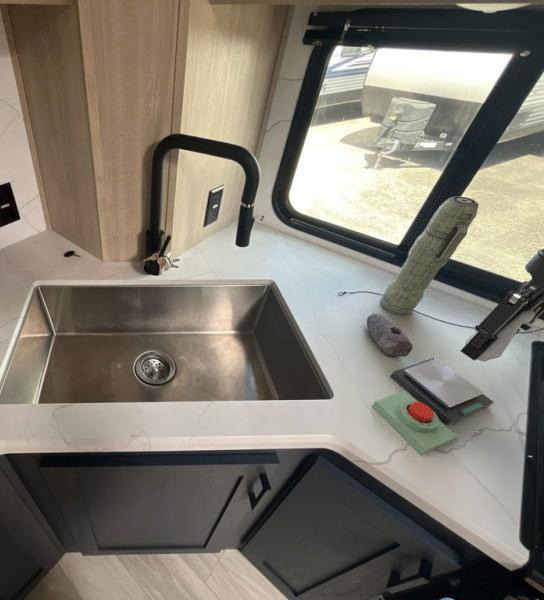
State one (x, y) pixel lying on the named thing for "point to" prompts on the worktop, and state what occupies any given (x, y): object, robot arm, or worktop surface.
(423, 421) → the tare button
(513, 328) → the salt shaker
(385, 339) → the perforated stone tool
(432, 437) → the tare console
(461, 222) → the thermos
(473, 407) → the scale base
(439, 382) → the scale pan
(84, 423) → the worktop surface
